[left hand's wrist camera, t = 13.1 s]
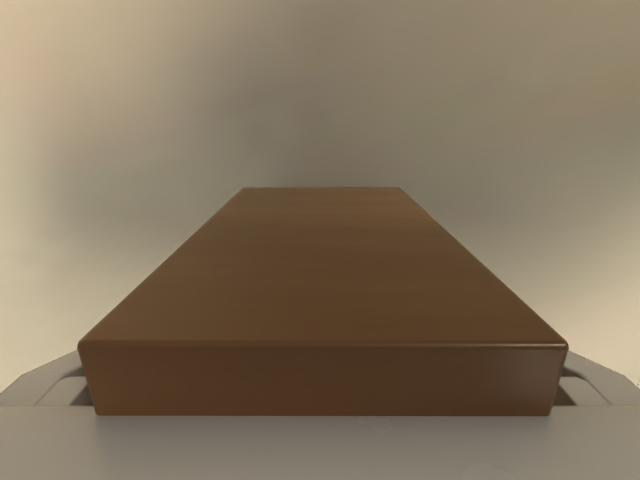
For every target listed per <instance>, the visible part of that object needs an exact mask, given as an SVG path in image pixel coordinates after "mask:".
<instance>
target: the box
mask: <svg viewBox="0 0 640 480" xmlns="http://www.w3.org/2000/svg"><path fill="white" fill-rule="evenodd" d="M77 349H78V353H79V356H80V360H81V363H82V367H83V371H84V374H85V378H86V381H87V385H88V388H89V392H90V395H91V399H92V403H93V406H94V410H95V413H96V415H99V416H549V415H550V413H551V409H552V406H553V402H554V399H555V395H556V392H557V388H558V385H559V381H560V378H561V374H562V371H563V367H564V364H565V360H566V357H567V353H568V350H569V347H568V343H567V341H566V340H565V339H564V338H562V337H561V336H560V335H559V334H558V333H557V332H556V331H555V330H554V329H553V328H552V327H550V326H549V325H548V324H547V323H546V322H545V321H544V320H543V319H542V318H541V317H540V316H539V315H537V314H536V313H535V312H534V311H533V310H532V309H531V308H530V307H529V306H528V305H527V304H525V303H524V302H523V301H522V300H521V299H520V298H519V297H518V296H517V295H516V294H515V293H514V292H512V291H511V290H510V289H509V288H508V287H507V286H506V285H505V284H504V283H503V282H502V281H500V280H499V279H498V278H497V277H496V276H495V275H494V274H493V273H492V272H491V271H490V270H489V269H487V268H486V267H485V266H484V265H483V264H482V263H481V262H480V261H479V260H478V259H477V258H475V257H474V256H473V255H472V254H471V253H470V252H469V251H468V250H467V249H466V248H465V247H464V246H462V245H461V244H460V243H459V242H458V241H457V240H456V239H455V238H454V237H453V236H452V235H450V234H449V233H448V232H447V231H446V230H445V229H444V228H443V227H442V226H441V225H440V224H439V223H437V222H436V221H435V220H434V219H433V218H432V217H431V216H430V215H429V214H428V213H427V212H426V211H424V210H423V209H422V208H421V207H420V206H419V205H418V204H417V203H416V202H415V201H414V200H412V199H411V198H410V197H409V196H408V195H407V194H406V193H405V192H404V191H403V190H402V189H401V188H243V189H241V190H240V191H239V192H238V193H237V194H236V195H235V196H234V197H233V198H232V199H231V200H230V201H229V202H228V203H226V204H225V205H224V206H223V207H222V208H221V209H220V210H219V211H218V212H217V213H216V214H215V215H214V216H213V217H211V218H210V219H209V220H208V221H207V222H206V223H205V224H204V225H203V226H202V227H201V228H200V229H199V230H198V231H197V232H195V233H194V234H193V235H192V236H191V237H190V238H189V239H188V240H187V241H186V242H185V243H184V244H183V245H182V246H180V247H179V248H178V249H177V250H176V251H175V252H174V253H173V254H172V255H171V256H170V257H169V258H168V259H167V260H165V261H164V262H163V263H162V264H161V265H160V266H159V267H158V268H157V269H156V270H155V271H154V272H153V273H152V274H150V275H149V276H148V277H147V278H146V279H145V280H144V281H143V282H142V283H141V284H140V285H139V286H138V287H137V288H135V289H134V290H133V291H132V292H131V293H130V294H129V295H128V296H127V297H126V298H125V299H124V300H123V301H122V302H121V303H119V304H118V305H117V306H116V307H115V308H114V309H113V310H112V311H111V312H110V313H109V314H108V315H107V316H106V317H104V318H103V319H102V320H101V321H100V322H99V323H98V324H97V325H96V326H95V327H94V328H93V329H92V330H91V331H89V332H88V333H87V334H86V335H85V336H84V337H83V338H82V339H81V340H80V341H79V343H78V347H77Z"/></svg>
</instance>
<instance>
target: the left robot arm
mask: <svg viewBox="0 0 640 480" xmlns="http://www.w3.org/2000/svg"><path fill="white" fill-rule="evenodd" d="M0 480H640V389H639V388H638V387H637V386H636V385H635V384H633V383H632V382H631V381H630V380H629V379H628V378H626V377H625V376H624V375H622V374H620V373H617V372H615V371H613V370H611V369H608V368H606V367H604V366H602V365H600V364H597V363H595V362H593V361H591V360H588V359H586V358H584V357H582V356H580V355H577V354H575V353H573V352H571V351H569V350H568V353H567V357H566V360H565V364H564V367H563V371H562V374H561V378H560V381H559V385H558V388H557V392H556V395H555V399H554V402H553V406H552V409H551V413H550V415H549V416H99V415H96V413H95V410H94V406H93V403H92V399H91V395H90V392H89V388H88V385H87V381H86V378H85V374H84V371H83V367H82V363H81V360H80V356H79V353H78V350H76V351H74V352H71V353H69V354H67V355H65V356H63V357H60V358H58V359H56V360H54V361H52V362H49V363H47V364H45V365H43V366H41V367H38V368H36V369H34V370H32V371H30V372H27V373H25V374H23V375H21V376H20V377H19V378H18V379H17V380H15V381H14V382H13V383H12V384H11V385H10V386H9V387H7V388H6V389H5V390H4V391H3V392H2V393H1V394H0Z"/></svg>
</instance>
